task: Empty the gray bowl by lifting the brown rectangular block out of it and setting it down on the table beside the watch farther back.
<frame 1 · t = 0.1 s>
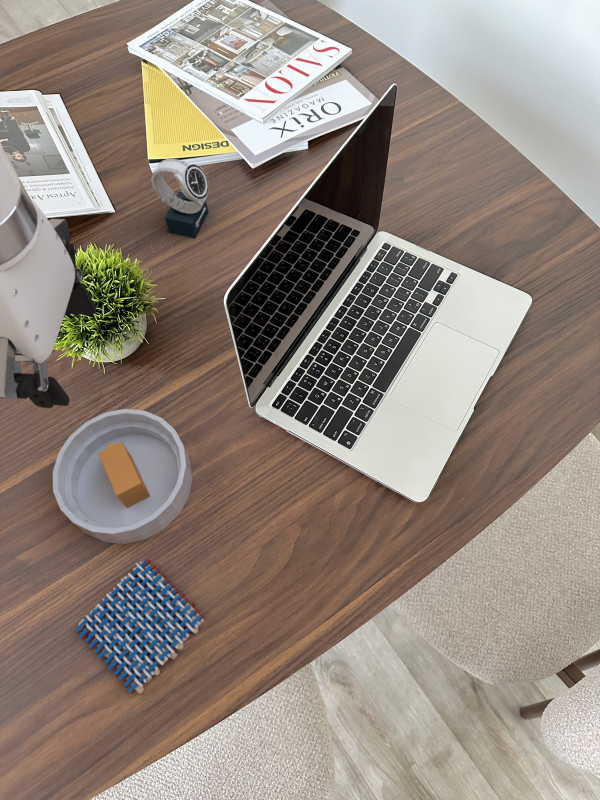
hand: (67, 354, 57), 24 cm above the table, tool pointing down, fingers open, 9 cm apart
woven mat: (144, 624, 69), on the table
brown rectangular block: (129, 481, 76), point 1 cm above the table, touching gray bowl
watch: (189, 223, 96), on the table
gray bowl: (130, 483, 77), on the table
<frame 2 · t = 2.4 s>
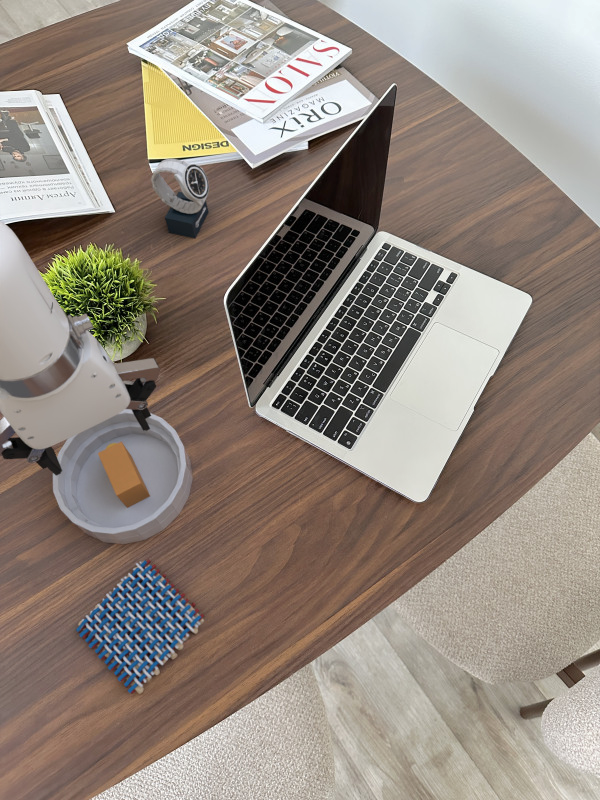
hand: (99, 440, 65), 13 cm above the table, tool pointing down, fingers open, 9 cm apart
nothing on the table moved.
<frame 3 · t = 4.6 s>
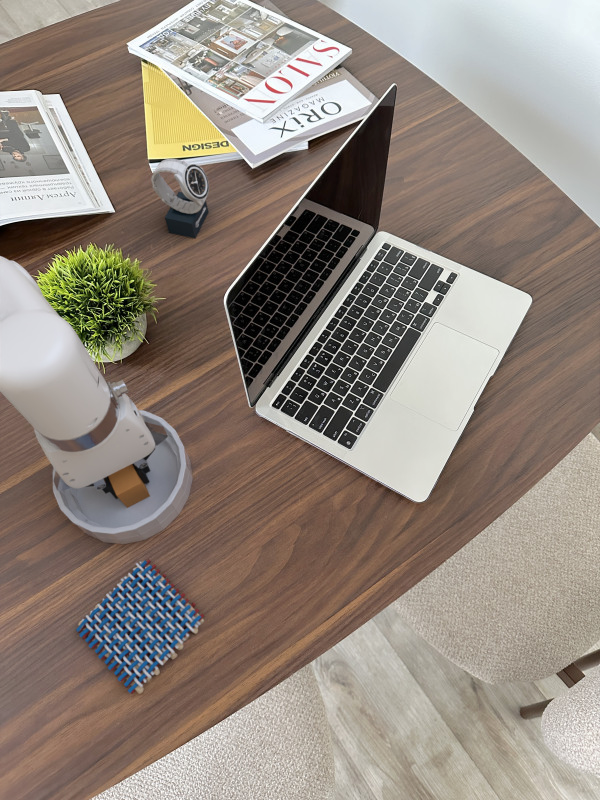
hand: (128, 480, 76), 1 cm above the table, tool pointing down, fingers closed on brown rectangular block, 3 cm apart
brown rectangular block: (129, 481, 76), point 1 cm above the table, touching gripper, gray bowl
everything else where it was.
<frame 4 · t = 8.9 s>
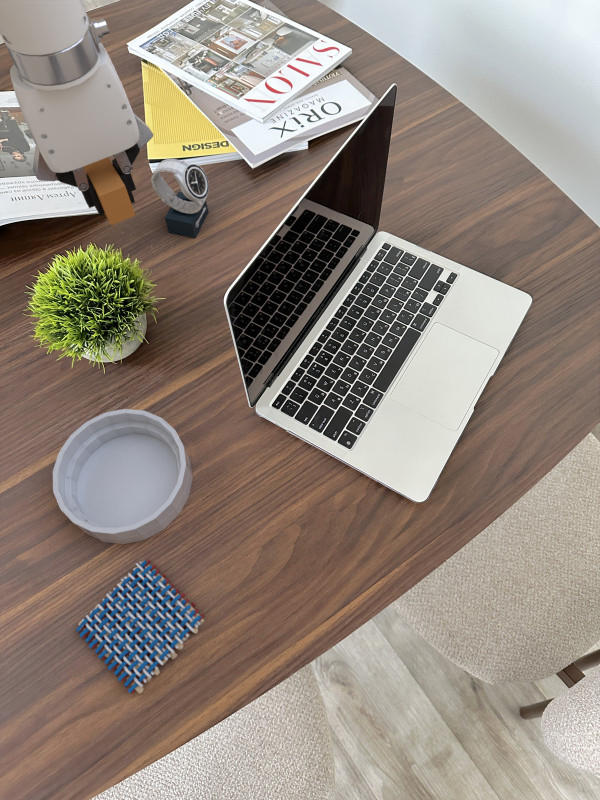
hand: (112, 200, 73), 19 cm above the table, tool pointing down, fingers closed on brown rectangular block, 3 cm apart
brown rectangular block: (114, 204, 73), point 18 cm above the table, touching gripper
everything else where it was.
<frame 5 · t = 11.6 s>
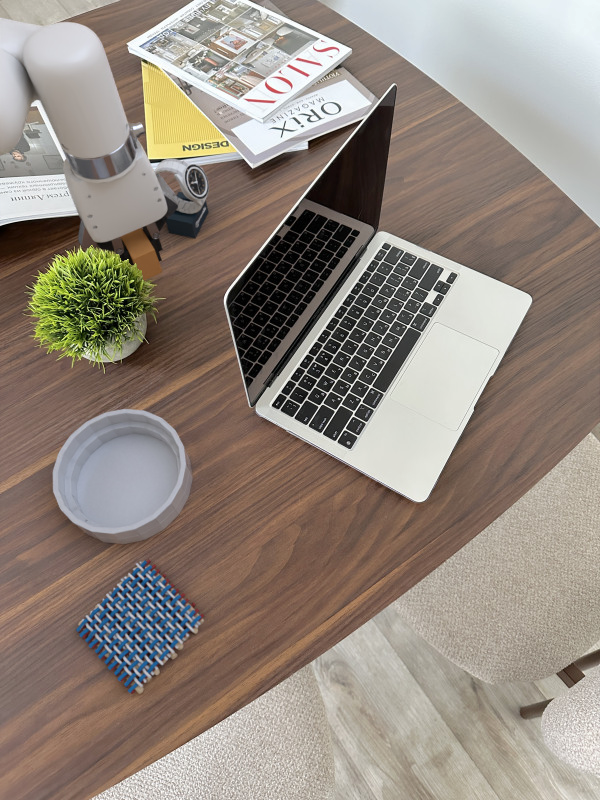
hand: (142, 259, 85), 6 cm above the table, tool pointing down, fingers closed on brown rectangular block, 3 cm apart
brown rectangular block: (143, 262, 85), point 6 cm above the table, touching gripper
everything else where it was.
when the fingers open (0 cm above the table, at t = 13.4 s): brown rectangular block stays where it is, on the table.
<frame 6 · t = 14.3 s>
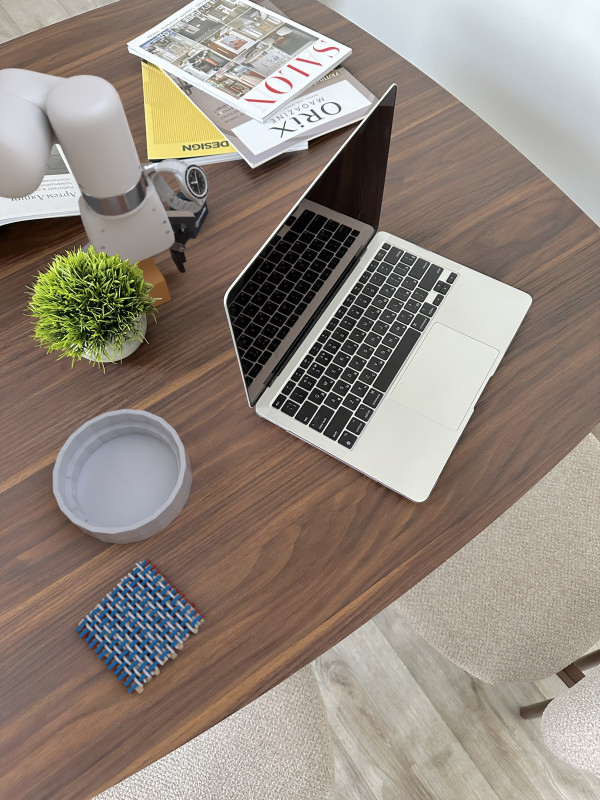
hand: (148, 279, 88), 2 cm above the table, tool pointing down, fingers open, 9 cm apart
brown rectangular block: (153, 289, 90), on the table
everything else where it was.
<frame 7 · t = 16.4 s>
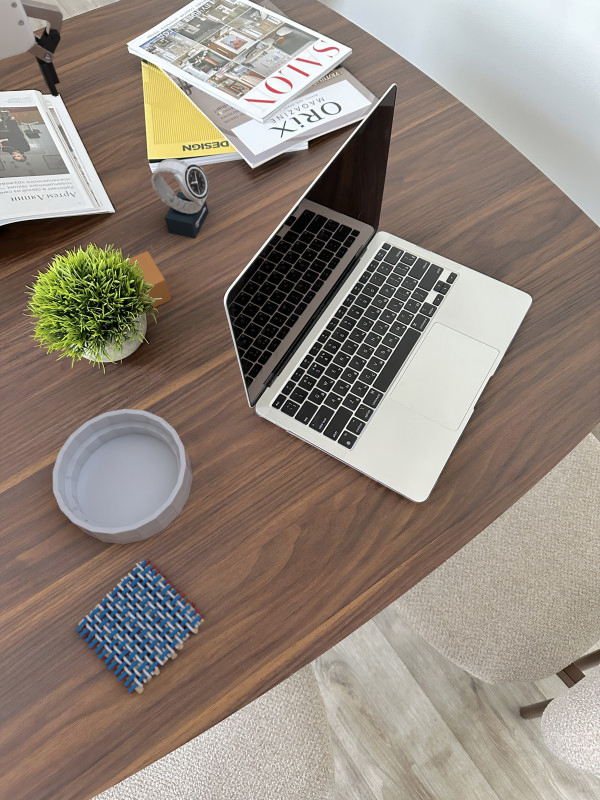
hand: (12, 102, 73), 24 cm above the table, tool pointing down, fingers open, 9 cm apart
nothing on the table moved.
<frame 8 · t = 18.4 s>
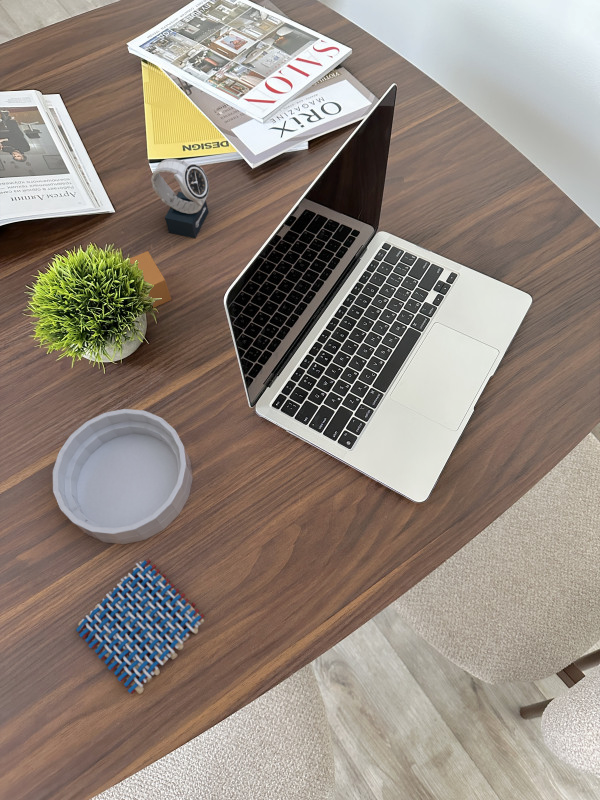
nothing on the table moved.
at the end: brown rectangular block 13.4 cm from the watch (horizontally); brown rectangular block on the table; brown rectangular block touching table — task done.
